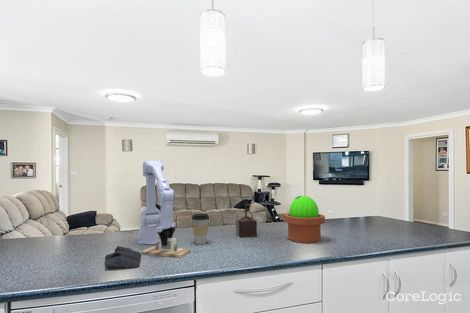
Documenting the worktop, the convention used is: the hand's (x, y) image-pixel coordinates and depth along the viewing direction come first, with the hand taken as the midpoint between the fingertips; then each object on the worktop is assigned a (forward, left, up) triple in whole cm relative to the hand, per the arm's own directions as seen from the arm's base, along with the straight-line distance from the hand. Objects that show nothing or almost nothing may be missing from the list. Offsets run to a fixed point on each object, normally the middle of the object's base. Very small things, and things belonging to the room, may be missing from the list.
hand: (166, 244), depth 137 cm
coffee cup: (+8, +22, -4) cm, 24 cm away
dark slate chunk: (-11, -17, -5) cm, 21 cm away
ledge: (0, 0, -4) cm, 4 cm away
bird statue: (+26, +49, -4) cm, 56 cm away
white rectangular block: (+1, 0, -3) cm, 3 cm away
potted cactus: (+61, +46, -4) cm, 77 cm away
